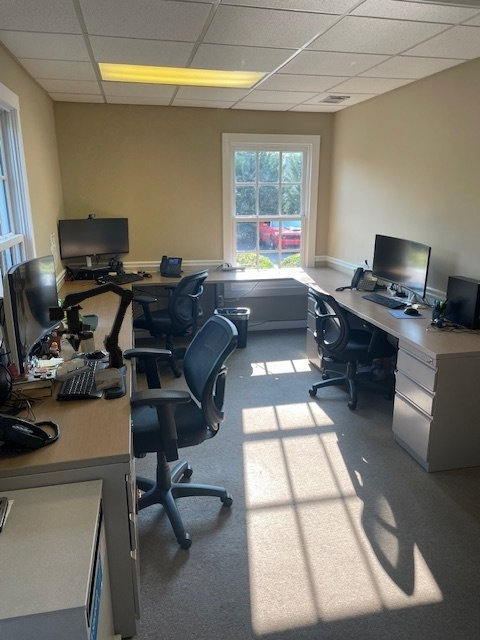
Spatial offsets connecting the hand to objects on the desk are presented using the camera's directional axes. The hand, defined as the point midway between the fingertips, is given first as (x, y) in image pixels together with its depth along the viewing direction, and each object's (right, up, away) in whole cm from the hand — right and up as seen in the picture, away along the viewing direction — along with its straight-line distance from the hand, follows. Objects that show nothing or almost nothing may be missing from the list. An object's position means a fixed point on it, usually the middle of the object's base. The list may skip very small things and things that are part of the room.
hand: (76, 351), depth 218 cm
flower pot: (-20, +9, +81) cm, 84 cm away
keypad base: (-2, -11, -2) cm, 11 cm away
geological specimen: (+19, -14, -15) cm, 28 cm away
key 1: (0, -7, +2) cm, 8 cm away
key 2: (-2, -8, -2) cm, 9 cm away
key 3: (-5, -11, -6) cm, 14 cm away
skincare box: (-4, -3, +29) cm, 30 cm away
